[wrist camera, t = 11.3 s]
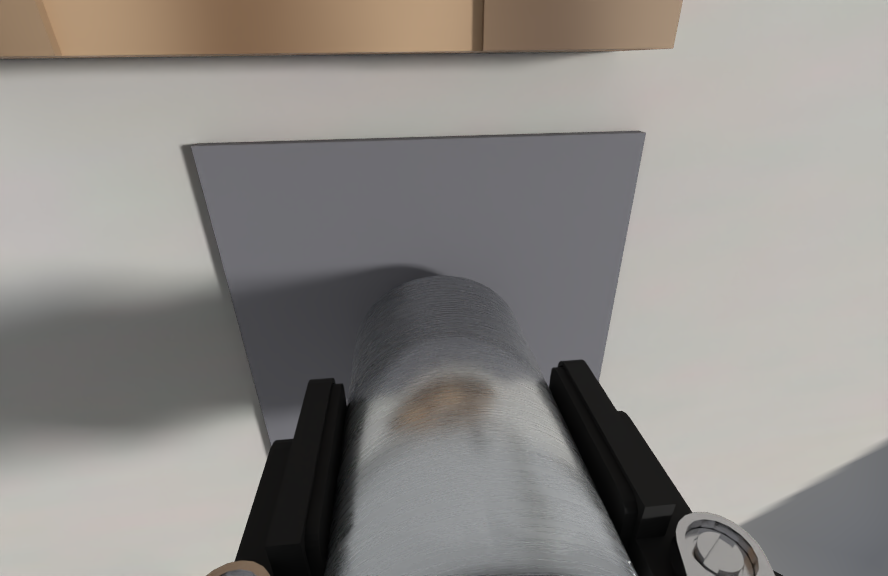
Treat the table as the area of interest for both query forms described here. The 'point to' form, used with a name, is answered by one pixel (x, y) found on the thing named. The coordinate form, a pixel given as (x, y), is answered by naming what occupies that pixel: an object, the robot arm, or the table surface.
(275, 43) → the wooden square frame
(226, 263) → the mat
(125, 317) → the table surface
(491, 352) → the grey light bulb
